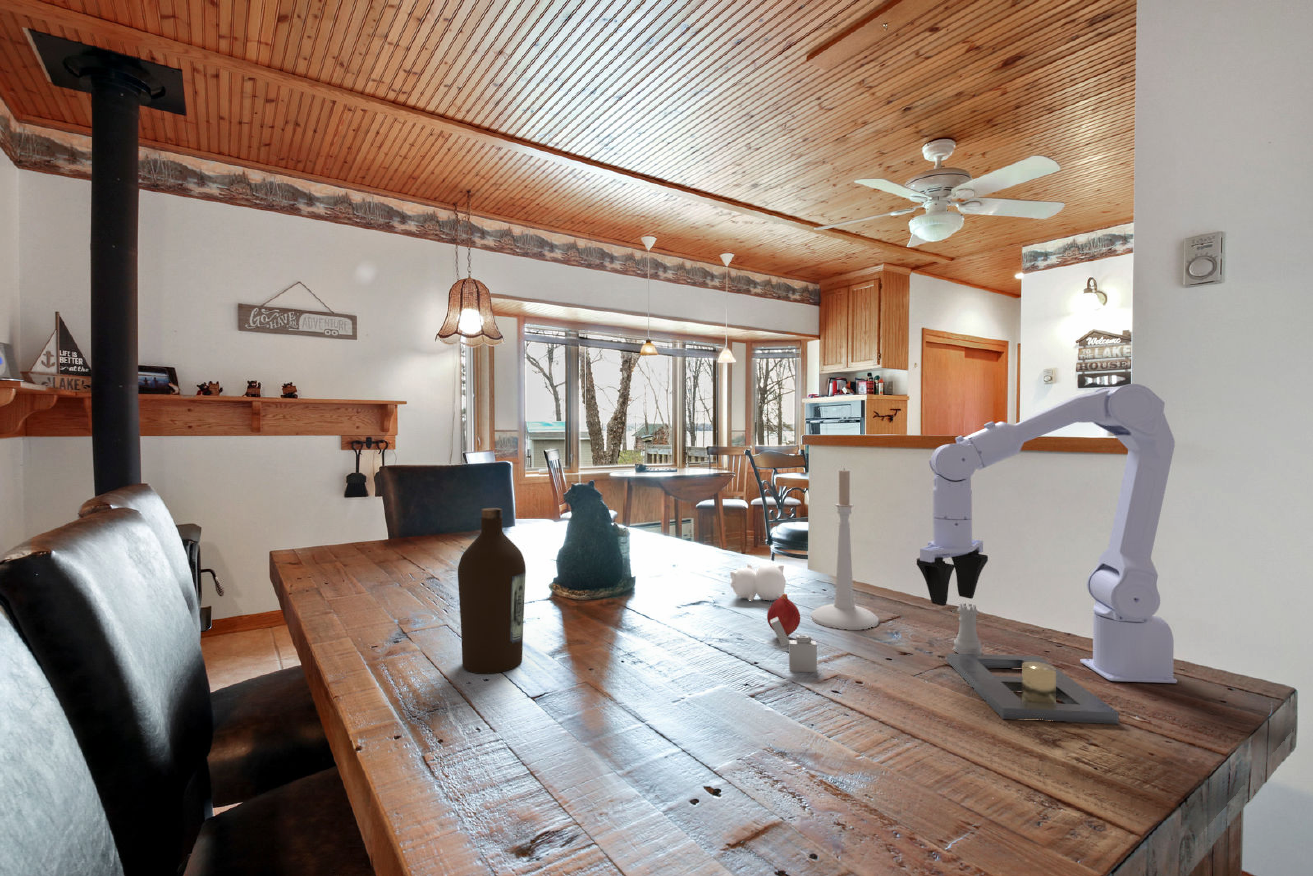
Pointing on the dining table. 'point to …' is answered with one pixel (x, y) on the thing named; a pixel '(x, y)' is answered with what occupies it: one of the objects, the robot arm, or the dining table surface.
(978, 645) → the rook chess piece
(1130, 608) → the robot arm
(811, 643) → the lighter
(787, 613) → the onion
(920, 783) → the dining table surface
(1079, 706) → the bolt plate
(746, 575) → the cat figurine
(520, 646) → the olive oil
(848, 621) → the candlestick
